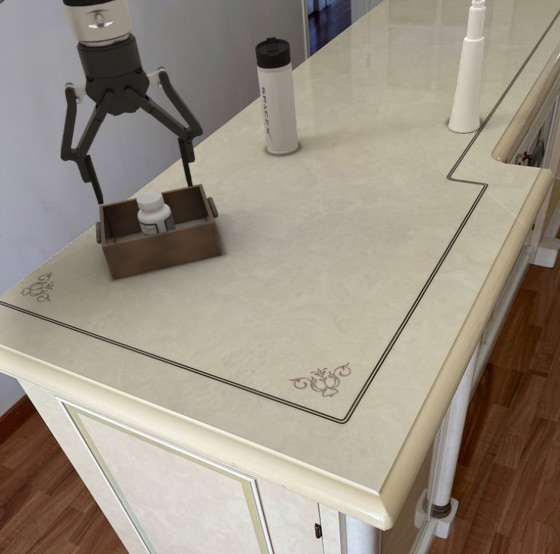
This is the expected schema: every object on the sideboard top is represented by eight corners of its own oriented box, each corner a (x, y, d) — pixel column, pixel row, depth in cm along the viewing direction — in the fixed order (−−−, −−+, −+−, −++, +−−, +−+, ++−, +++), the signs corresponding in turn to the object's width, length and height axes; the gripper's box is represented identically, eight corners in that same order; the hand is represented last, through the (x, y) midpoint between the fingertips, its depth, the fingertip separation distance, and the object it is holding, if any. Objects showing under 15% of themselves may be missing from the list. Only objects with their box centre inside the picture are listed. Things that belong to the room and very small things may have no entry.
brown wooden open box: (108, 285, 91) (94, 249, 86) (105, 241, 100) (92, 207, 96) (228, 257, 93) (221, 220, 88) (214, 217, 102) (207, 182, 98)
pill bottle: (172, 233, 99) (159, 184, 93) (184, 247, 95) (171, 197, 89) (143, 244, 97) (128, 195, 91) (153, 258, 94) (138, 209, 88)
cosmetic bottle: (470, 118, 120) (485, -7, 104) (485, 129, 116) (503, 1, 100) (442, 124, 119) (454, -1, 104) (456, 135, 115) (470, 7, 99)
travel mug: (297, 142, 120) (288, 34, 106) (299, 157, 115) (290, 45, 101) (266, 146, 120) (253, 39, 106) (268, 161, 116) (254, 50, 101)
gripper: (1, 62, 70) (62, 219, 85) (205, 28, 73) (230, 186, 88) (6, 45, 76) (63, 196, 91) (197, 14, 79) (221, 165, 94)
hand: (145, 191), depth 89 cm, fingers open, 13 cm apart
